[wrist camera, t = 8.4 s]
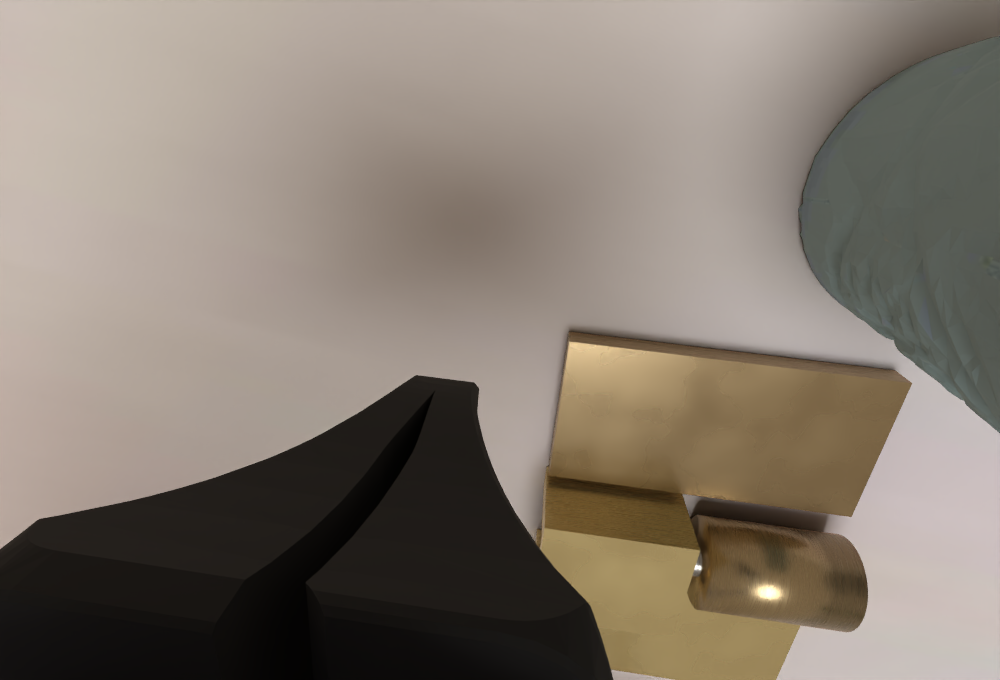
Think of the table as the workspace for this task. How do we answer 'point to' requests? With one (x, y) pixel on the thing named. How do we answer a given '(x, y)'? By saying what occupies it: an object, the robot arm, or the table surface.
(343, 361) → the table surface
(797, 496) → the bronze leaf with pin
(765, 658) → the brass leaf
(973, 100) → the teal cup
